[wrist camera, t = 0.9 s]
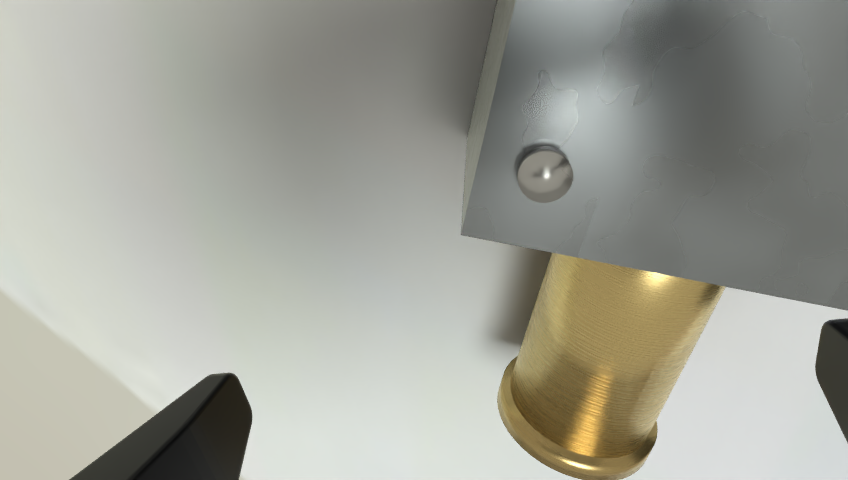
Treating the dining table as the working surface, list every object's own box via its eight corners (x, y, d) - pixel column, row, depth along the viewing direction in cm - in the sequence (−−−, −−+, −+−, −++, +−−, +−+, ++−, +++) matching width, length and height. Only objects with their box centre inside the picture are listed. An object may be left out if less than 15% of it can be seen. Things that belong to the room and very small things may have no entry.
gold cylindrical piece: (599, 8, 18) (648, 40, 12) (784, 44, 18) (907, 91, 13) (495, 351, 24) (499, 463, 19) (629, 377, 24) (668, 496, 19)
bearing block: (543, -211, 16) (592, -319, 9) (973, -124, 16) (1356, -165, 9) (467, 137, 20) (460, 242, 14) (795, 201, 20) (953, 338, 14)
